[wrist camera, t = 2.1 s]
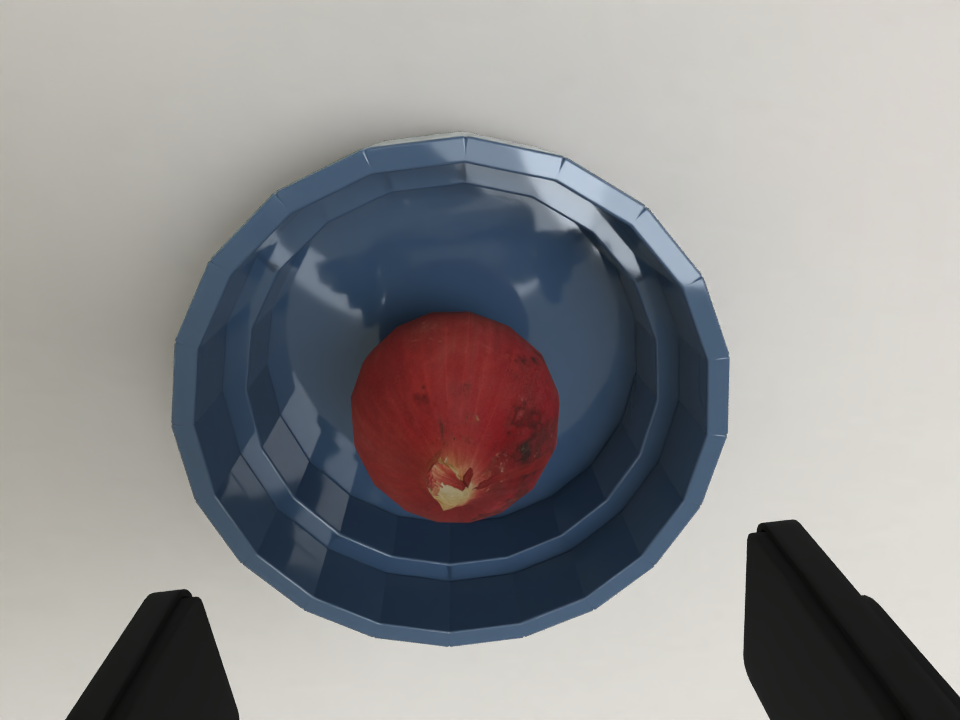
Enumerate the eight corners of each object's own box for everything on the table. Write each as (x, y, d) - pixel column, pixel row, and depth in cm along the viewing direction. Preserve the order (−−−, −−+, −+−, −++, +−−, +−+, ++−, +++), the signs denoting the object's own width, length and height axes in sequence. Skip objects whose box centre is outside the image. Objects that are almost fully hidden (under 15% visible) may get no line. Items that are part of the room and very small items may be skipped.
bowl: (178, 165, 19) (92, 181, 15) (667, 105, 19) (736, 101, 15) (287, 567, 25) (248, 672, 20) (672, 519, 25) (724, 613, 20)
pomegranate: (544, 282, 21) (597, 375, 13) (537, 442, 23) (580, 599, 15) (363, 283, 21) (313, 378, 13) (372, 444, 23) (334, 606, 15)
